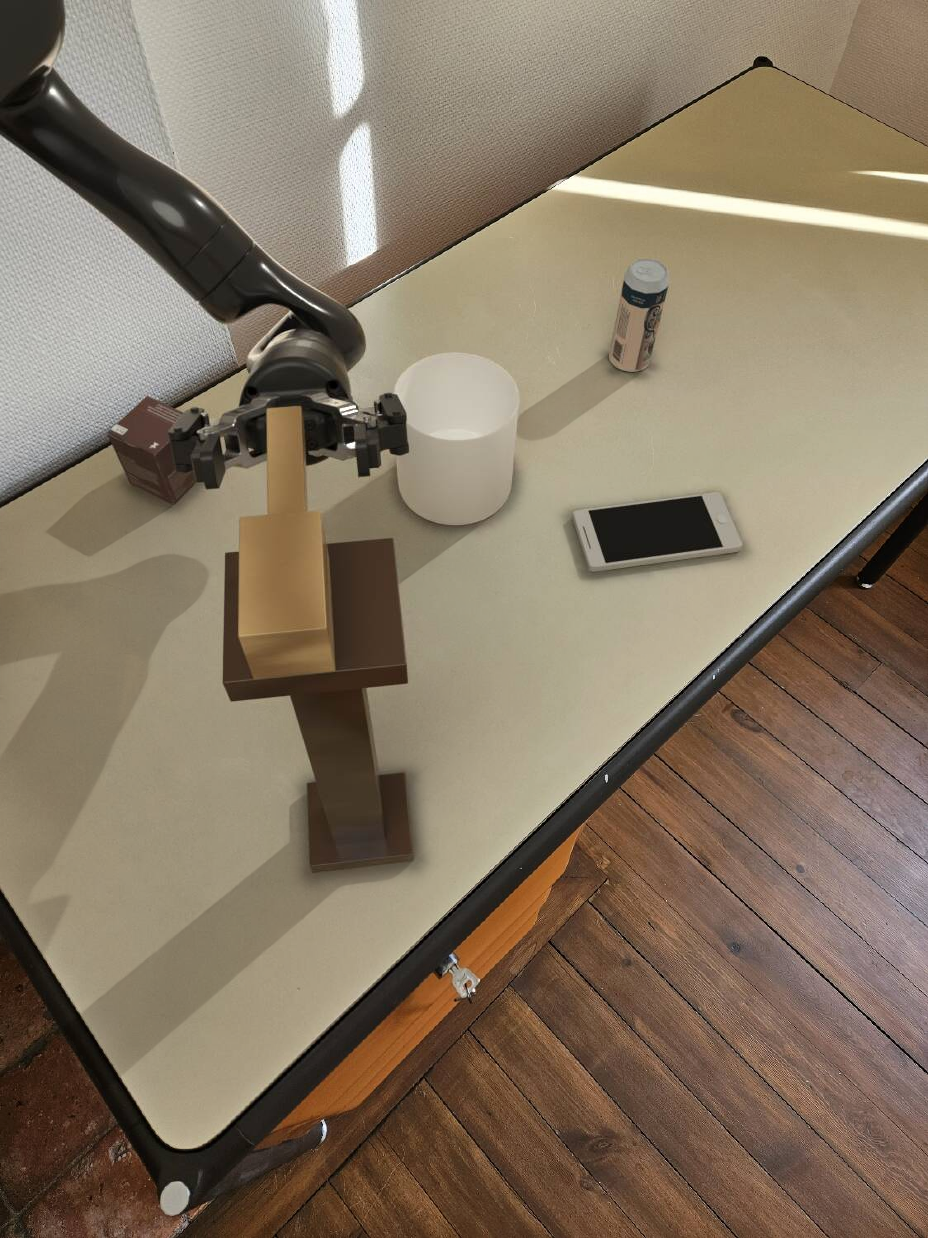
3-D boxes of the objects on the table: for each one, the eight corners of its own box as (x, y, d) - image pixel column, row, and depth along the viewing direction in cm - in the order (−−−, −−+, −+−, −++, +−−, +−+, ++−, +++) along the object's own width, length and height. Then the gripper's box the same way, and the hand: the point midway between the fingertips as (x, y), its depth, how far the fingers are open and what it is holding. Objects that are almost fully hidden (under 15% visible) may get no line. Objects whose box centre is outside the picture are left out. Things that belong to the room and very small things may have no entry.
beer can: (648, 377, 102) (671, 287, 92) (606, 372, 103) (624, 281, 93) (650, 349, 105) (672, 258, 95) (609, 344, 105) (627, 252, 95)
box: (212, 468, 94) (195, 417, 88) (173, 507, 91) (154, 456, 85) (166, 445, 95) (147, 393, 89) (127, 483, 93) (104, 431, 86)
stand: (306, 880, 71) (222, 683, 44) (302, 784, 75) (224, 552, 48) (420, 866, 72) (406, 664, 45) (411, 773, 76) (393, 537, 49)
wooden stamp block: (253, 680, 44) (237, 637, 41) (253, 427, 53) (240, 375, 50) (335, 671, 45) (327, 628, 41) (321, 422, 54) (313, 370, 50)
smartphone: (741, 551, 89) (744, 545, 88) (589, 572, 87) (590, 567, 87) (717, 496, 93) (720, 490, 92) (571, 515, 91) (572, 509, 90)
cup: (535, 485, 93) (546, 398, 83) (451, 545, 89) (452, 461, 79) (457, 423, 98) (459, 334, 88) (374, 478, 94) (366, 390, 83)
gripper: (187, 351, 63) (142, 409, 48) (393, 337, 64) (408, 389, 50) (206, 457, 66) (169, 540, 52) (401, 441, 67) (418, 518, 53)
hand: (286, 466), depth 51 cm, fingers open, 8 cm apart
